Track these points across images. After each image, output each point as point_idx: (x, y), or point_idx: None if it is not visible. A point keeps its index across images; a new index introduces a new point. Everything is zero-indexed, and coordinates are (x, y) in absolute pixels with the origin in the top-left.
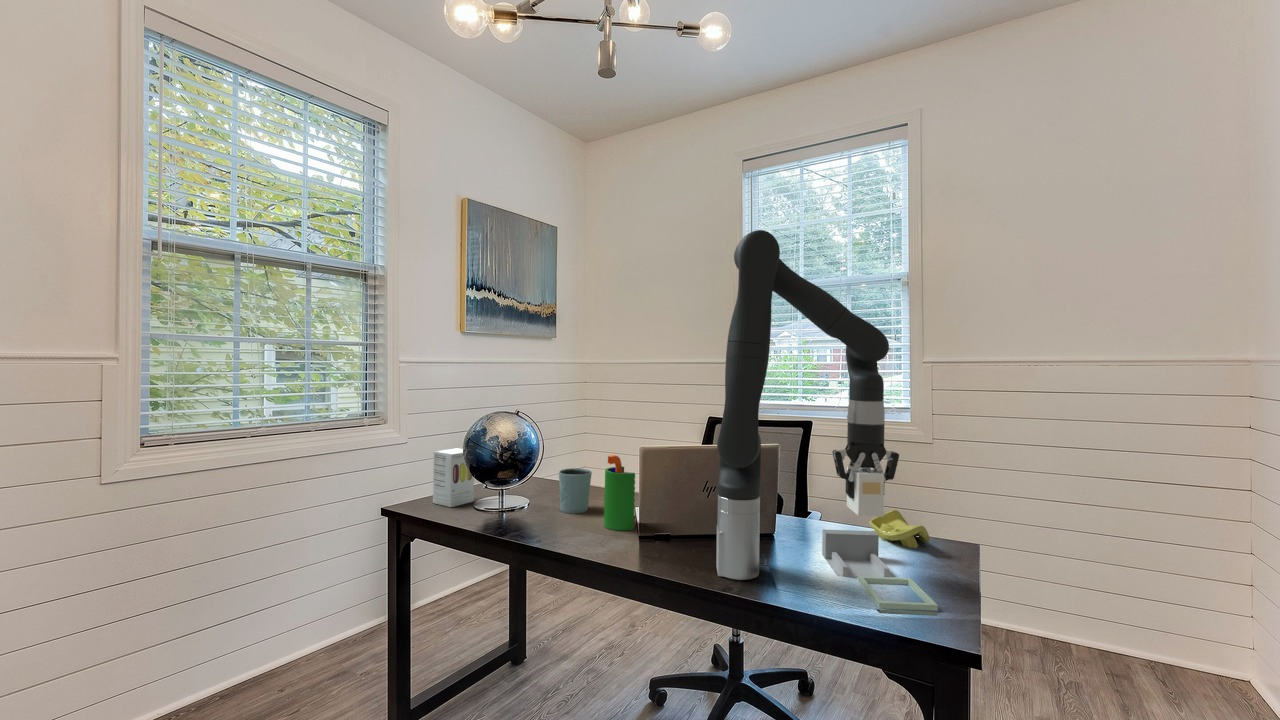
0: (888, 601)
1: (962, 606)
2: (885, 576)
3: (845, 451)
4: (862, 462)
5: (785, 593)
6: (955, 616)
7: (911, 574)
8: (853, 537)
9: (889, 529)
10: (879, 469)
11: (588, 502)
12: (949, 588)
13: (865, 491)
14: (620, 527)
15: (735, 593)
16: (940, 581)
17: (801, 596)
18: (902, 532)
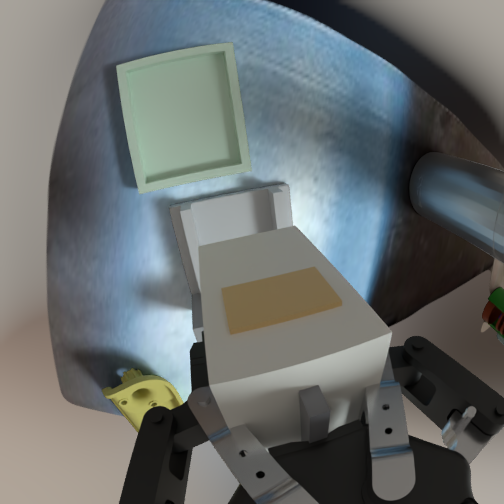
0: (212, 51)
1: (67, 132)
2: (188, 204)
3: (467, 456)
4: (356, 451)
5: (380, 107)
6: (91, 81)
7: (132, 263)
8: None
9: None
10: (234, 441)
11: (501, 337)
12: (74, 214)
13: (305, 276)
14: (499, 290)
15: (437, 104)
16: (86, 244)
17: (357, 97)
18: (142, 383)
